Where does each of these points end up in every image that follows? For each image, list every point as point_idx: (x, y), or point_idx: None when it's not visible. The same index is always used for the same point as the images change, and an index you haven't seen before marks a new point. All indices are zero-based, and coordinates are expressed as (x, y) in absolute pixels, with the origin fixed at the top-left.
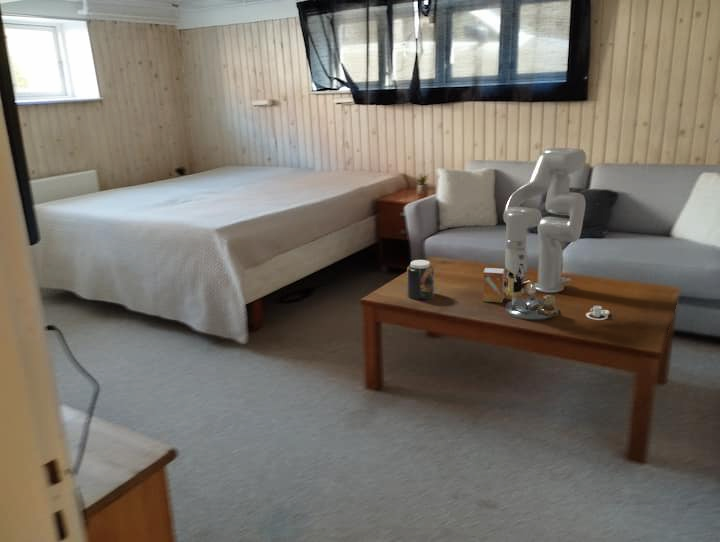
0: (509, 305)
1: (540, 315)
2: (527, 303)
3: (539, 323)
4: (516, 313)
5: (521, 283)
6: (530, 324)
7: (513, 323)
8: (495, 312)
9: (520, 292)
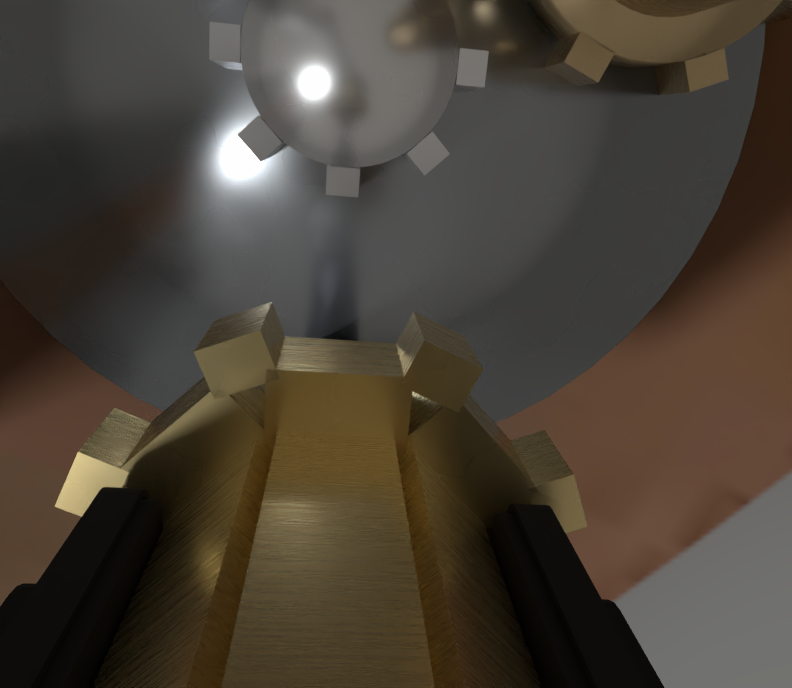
0: (135, 335)
1: (687, 120)
2: (363, 155)
3: (788, 230)
4: None
5: (626, 665)
6: (750, 350)
7: (623, 509)
8: None
9: (566, 524)
